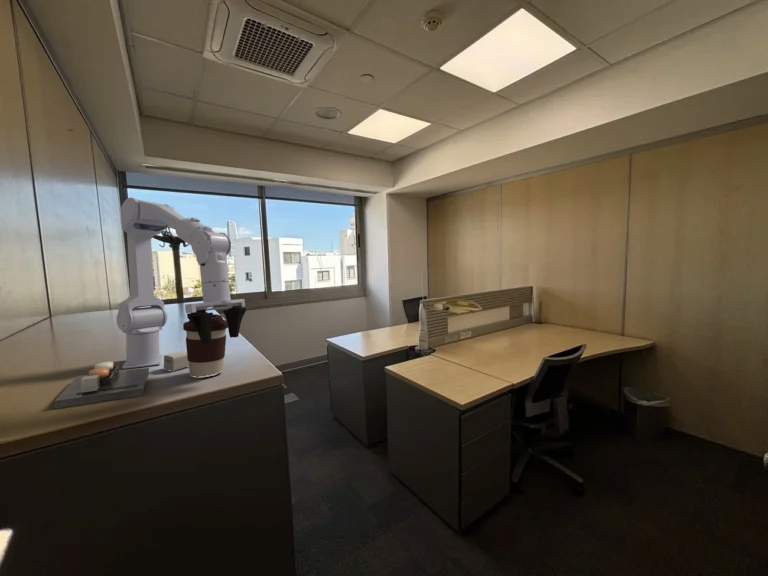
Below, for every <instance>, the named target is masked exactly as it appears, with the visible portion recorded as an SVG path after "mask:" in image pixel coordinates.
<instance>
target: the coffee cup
mask: <svg viewBox="0 0 768 576" xmlns="http://www.w3.org/2000/svg"><path fill="white" fill-rule="evenodd" d="M226 329H228V323H227V320H226V319H224V317H223V316H222V315H221V314H214V313H213V316H212V321H211V338H212V339H211V343H210V344H202V342H201V339H200V337H199V335H198V332H197V330H196V329H195V327H194V325H193V324H192V323H191V321H190V320H189V319H188V320H187V321H185V322H184V323H183V331H186V333H185V334H186V337H185V345H186V352H187V359H188V361H189V367H188V369H189V371H188V372H189V376H190V375H191V376H196V377H199V376H206V375H211V374H215V373H218V372H220V371H221V370H222V369H224V368H223V367H224V359H225V357H226V356H225V355H226V343H227V334H226V332H227V330H226ZM222 371H223V370H222ZM191 376H190V377H191Z"/></svg>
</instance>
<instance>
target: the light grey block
mask: <svg viewBox="0 0 768 576" xmlns="http://www.w3.org/2000/svg"><path fill="white" fill-rule="evenodd" d="M98 389H99V375H94V376H85V377H83V378H82V379H81V393H83V392H90V391H97V390H98Z"/></svg>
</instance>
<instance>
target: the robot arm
mask: <svg viewBox="0 0 768 576" xmlns="http://www.w3.org/2000/svg"><path fill="white" fill-rule="evenodd" d="M120 223H121V230H122V231H123V232H125V233H126V238H127V239H126V241H127V242H126V243H127V255H128V270H129V271H128V272H129V273H128V274H129V289H130V296H128V297H127V298H126V299H124V300H123V301H121V302H120V303H119V304H118V307H117V309H118V310H117V314H116V325H117V328H118V329H119V331H121V332H122V333H123V334H125V349H126V350H125V352H126V357H125V358H126V360H125V362H124V364H123V365H122V367H121V369H123V370H124V369H133V368H141V367H142V368H143V367H144V368H145V367H150V366H160V365H161V363H162V359H163V354H160V331H162V330H163V327H164V326H165V325H166V323H167V322H168V321H167V320H168V313H167V310H166V308H165V301H163V300H161V299H160V298H159V297H157V296H156V295H155V285H154V282H155V281H154V269H153V268H154V267H153V265H154V264H153V251H152V249H153V247H152V239H153V237H154V236H156V235H157V236H158V235H160V234H161V233H163V232H164V231H166V230H167V229H169V228H172V229H173V230H175V233H176V234H175V235H177V237H178V239H180V240H182V241H183V242H185V243H187V244H188V245H189V246H191V249H192V252H193V254H194V255H195V258H196V262H197V264H199V269H200V271H199V273H200V282H201V291H202V292H201V294H202V302H197V303H195V302H194V303H187V304H184V307H185V308H184V309H185V314H186V316H187V319H188V321H189V320H190V321H191V323H192V324H193V325H194V327H195V329H196V330H197V332H198V335H199V337H200V339H201V342H202V344H210V343H211V339H212V338H211V321H212V316H213V314H214V313H213V312H208V311H215V310H216V311H217V310H222V311H223V314H224V317H225V320H227V323H228V328H227V329H228V335H229V338H231V339H232V338H239V334H240V328H241V324H242V321H243V318H244V316H245V313H246V312H247V311H246V310H247V308H246V303H245V298H240V299H232V298H231V290H230V279H229V278H230V277H229V269H228V258H227V256H228V255H229V254H230V252H231V250H232V249H231V248H232V242H231V239H230V237H229V236H228V235H227V234H226V232H215V231H214V230H213V228H212V227H211V226H207V225H204V224H203V223H201V220H200V218H198V217H187V218H185V217H183V215H181V214H179V212H177V211H176V210H175V207H173V206H170V205H169V204H162V203H159V202H158V203H157V202H151V201H149V200H148V201H147V200H142V199H137V198H135V197H127V198H126V199H125V200H124V202H122V205H121V206H120ZM220 305H221V306H220ZM214 306H218V307H214Z"/></svg>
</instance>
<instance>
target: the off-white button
mask: <svg viewBox="0 0 768 576" xmlns="http://www.w3.org/2000/svg"><path fill="white" fill-rule="evenodd" d="M113 366H114V362H113V361H102V362H98V363H95V364H94V368H95V369H97V368H109V371H111V370H113Z"/></svg>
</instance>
